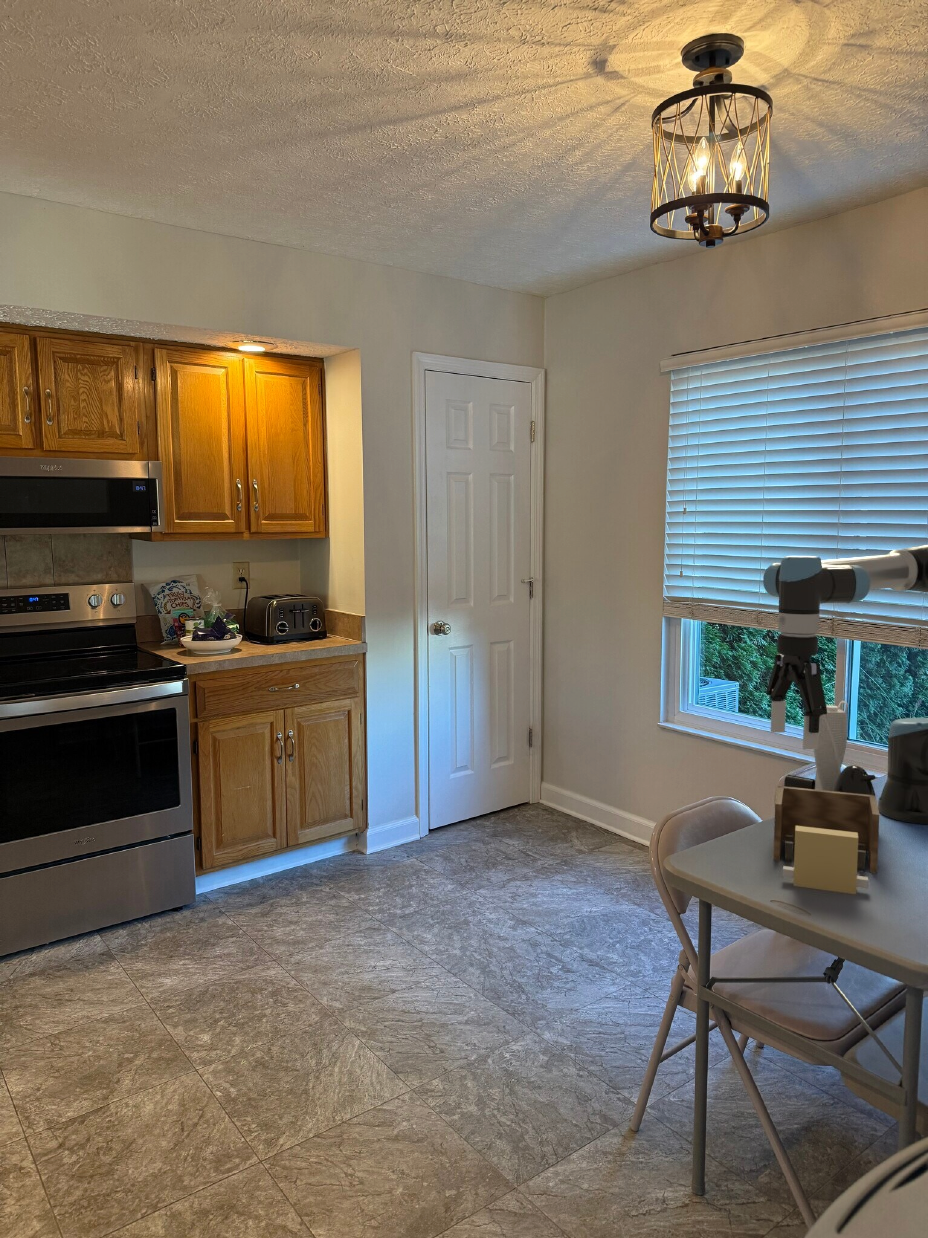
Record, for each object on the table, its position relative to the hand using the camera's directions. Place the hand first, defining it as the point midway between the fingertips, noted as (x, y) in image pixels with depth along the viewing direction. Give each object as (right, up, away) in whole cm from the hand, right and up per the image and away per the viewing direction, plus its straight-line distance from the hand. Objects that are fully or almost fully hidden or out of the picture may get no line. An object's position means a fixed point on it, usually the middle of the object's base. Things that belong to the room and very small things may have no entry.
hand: (793, 740), depth 171 cm
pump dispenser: (+22, -24, +23) cm, 40 cm away
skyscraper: (+22, -23, +35) cm, 47 cm away
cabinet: (+10, -25, +9) cm, 29 cm away
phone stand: (+11, -24, +26) cm, 37 cm away
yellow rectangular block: (+4, -27, -6) cm, 28 cm away
